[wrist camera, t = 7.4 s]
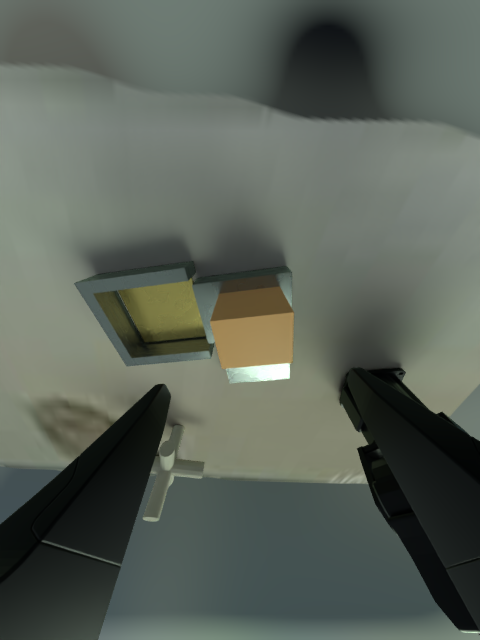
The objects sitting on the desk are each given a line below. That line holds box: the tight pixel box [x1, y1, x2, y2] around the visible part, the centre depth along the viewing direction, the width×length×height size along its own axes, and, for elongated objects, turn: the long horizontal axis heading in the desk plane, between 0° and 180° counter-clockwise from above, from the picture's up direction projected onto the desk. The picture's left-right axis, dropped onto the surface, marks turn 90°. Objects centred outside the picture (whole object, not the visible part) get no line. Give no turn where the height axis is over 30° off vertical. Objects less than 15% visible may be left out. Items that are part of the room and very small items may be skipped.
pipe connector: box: [143, 425, 204, 521], centre depth 24 cm, size 10×10×10 cm
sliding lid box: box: [74, 261, 292, 366], centre depth 16 cm, size 17×9×2 cm, turn 98°
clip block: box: [210, 286, 294, 369], centre depth 13 cm, size 5×4×4 cm
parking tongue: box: [226, 363, 290, 383], centre depth 20 cm, size 7×5×2 cm
